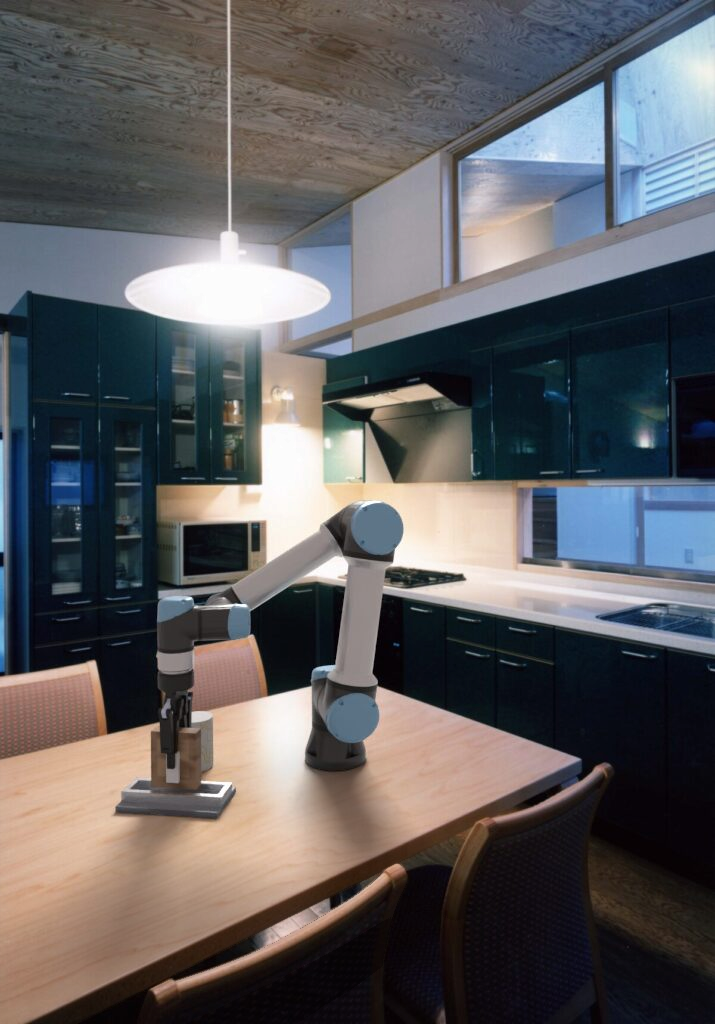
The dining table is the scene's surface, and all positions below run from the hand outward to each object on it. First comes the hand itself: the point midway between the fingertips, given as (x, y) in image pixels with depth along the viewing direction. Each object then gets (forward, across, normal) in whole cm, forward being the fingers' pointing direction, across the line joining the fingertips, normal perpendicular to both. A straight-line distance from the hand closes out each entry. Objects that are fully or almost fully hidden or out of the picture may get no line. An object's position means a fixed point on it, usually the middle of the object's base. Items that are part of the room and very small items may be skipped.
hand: (176, 777), depth 140 cm
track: (+5, 0, 0) cm, 5 cm away
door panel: (+2, 0, 0) cm, 2 cm away
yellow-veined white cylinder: (+5, -19, -3) cm, 20 cm away
